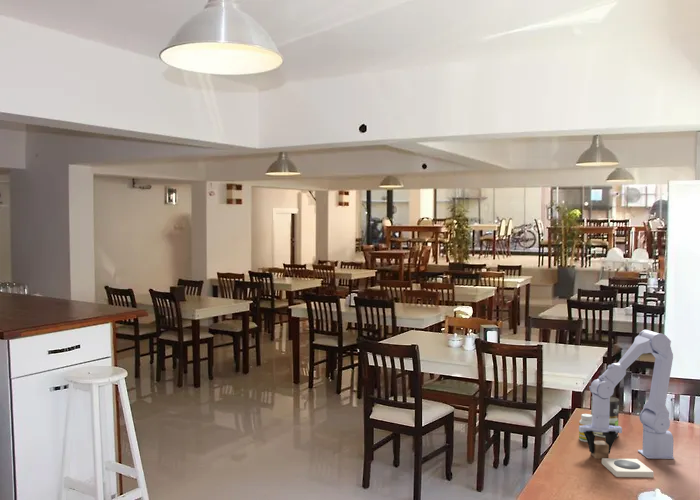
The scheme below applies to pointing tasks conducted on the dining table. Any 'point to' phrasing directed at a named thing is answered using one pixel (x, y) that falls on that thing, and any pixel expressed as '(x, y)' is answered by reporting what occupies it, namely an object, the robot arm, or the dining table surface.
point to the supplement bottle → (585, 420)
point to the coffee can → (610, 415)
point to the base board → (627, 467)
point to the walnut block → (600, 450)
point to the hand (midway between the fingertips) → (599, 452)
